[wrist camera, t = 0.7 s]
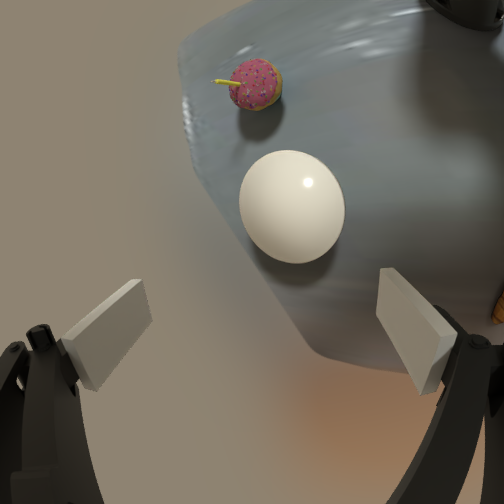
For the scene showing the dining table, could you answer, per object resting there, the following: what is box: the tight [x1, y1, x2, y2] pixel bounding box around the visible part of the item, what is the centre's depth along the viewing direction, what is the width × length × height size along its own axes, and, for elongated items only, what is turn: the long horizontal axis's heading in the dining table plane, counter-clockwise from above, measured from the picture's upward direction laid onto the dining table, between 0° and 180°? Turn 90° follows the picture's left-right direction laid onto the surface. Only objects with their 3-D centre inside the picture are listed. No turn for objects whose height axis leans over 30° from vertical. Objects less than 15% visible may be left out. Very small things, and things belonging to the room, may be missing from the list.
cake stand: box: [239, 150, 346, 263], centre depth 38 cm, size 15×15×8 cm
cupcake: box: [211, 59, 282, 111], centre depth 33 cm, size 9×8×12 cm
